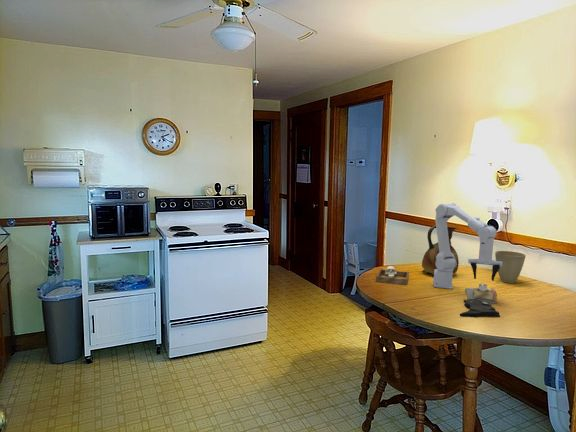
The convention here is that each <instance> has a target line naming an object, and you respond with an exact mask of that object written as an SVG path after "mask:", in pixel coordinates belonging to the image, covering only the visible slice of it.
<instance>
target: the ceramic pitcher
mask: <svg viewBox="0 0 576 432" xmlns="http://www.w3.org/2000/svg"><path fill="white" fill-rule="evenodd" d="M434 229H436V224H434V225H432V226H431V227H429V229H428V232H427V242H428V249H427V250H426V251H425V253H424V254H423V257H422V260H421V267H422V269H423V270H424V271H425V272H427V273H429V274H432V275H434V269H437V267H436V256H437V255H438V253H439V245H438V241H437V242H436V243H434V244H433V242H432V233H433V231H434ZM447 229H448V237H449V244H450V251H451V252H452V253H453V254H454V257H455V260H456V262H457V265H456V267H455V268H454V270H453V275H454V274H455V275H456V273H457V272H458V269H459V265H460V263H459V261H460V260H459V255H458V253H457V250H456V249H455V248H454V246H452V240H451V239H452V238H453V232H454V231H455V230H456V229H458V227H457V226H456V225H454V226H453V225H448V224H447ZM445 258H447V257H445Z"/></svg>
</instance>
